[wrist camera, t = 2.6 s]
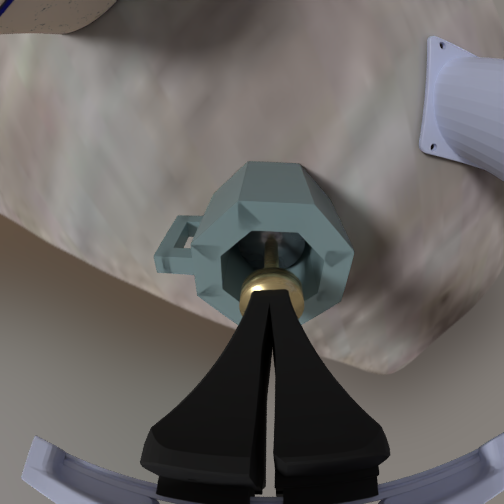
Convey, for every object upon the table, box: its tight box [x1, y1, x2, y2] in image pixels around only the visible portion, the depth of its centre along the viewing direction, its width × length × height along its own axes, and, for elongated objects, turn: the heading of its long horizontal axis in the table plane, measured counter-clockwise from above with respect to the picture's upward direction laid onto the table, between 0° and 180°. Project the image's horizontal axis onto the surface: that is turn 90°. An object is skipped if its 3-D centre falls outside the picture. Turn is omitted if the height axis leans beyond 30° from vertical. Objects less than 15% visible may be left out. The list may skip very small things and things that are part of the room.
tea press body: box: [154, 161, 354, 325], centre depth 15 cm, size 9×7×6 cm
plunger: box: [238, 231, 305, 319], centre depth 13 cm, size 4×4×5 cm
